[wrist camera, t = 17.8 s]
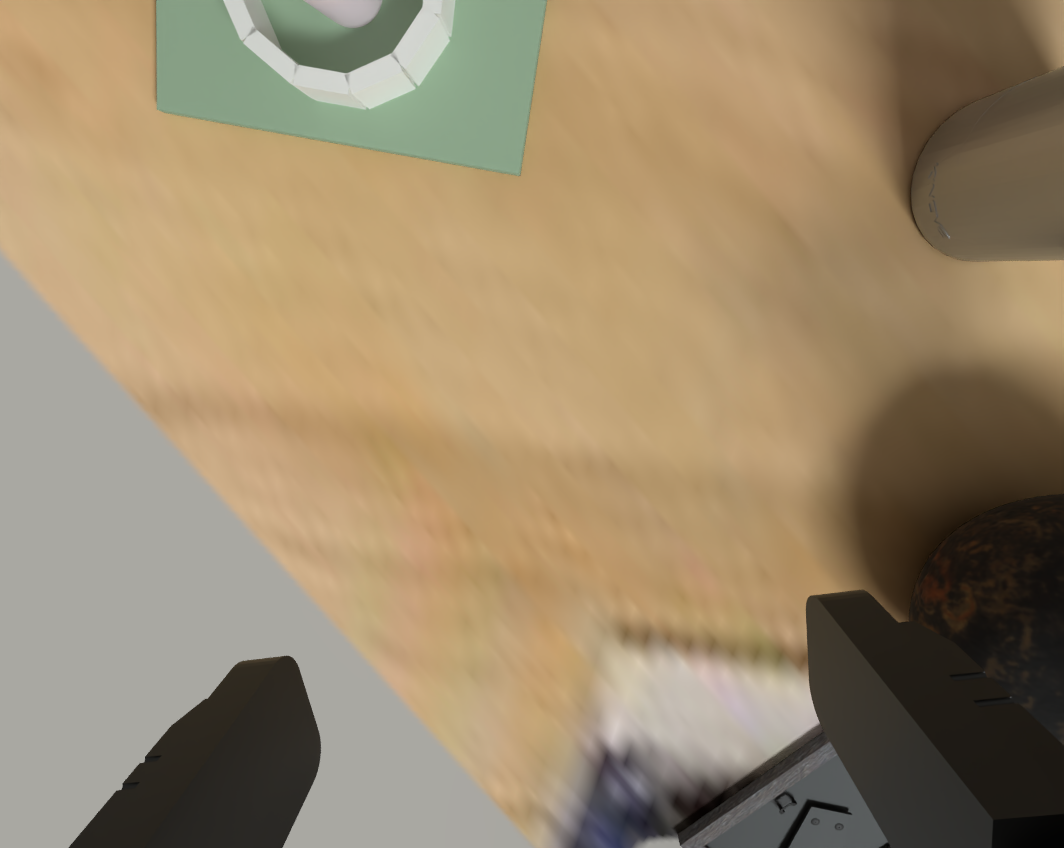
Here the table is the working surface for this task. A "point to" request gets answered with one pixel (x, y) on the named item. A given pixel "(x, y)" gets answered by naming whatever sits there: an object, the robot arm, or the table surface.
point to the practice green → (360, 74)
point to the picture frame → (792, 808)
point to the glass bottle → (1005, 600)
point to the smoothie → (348, 11)
